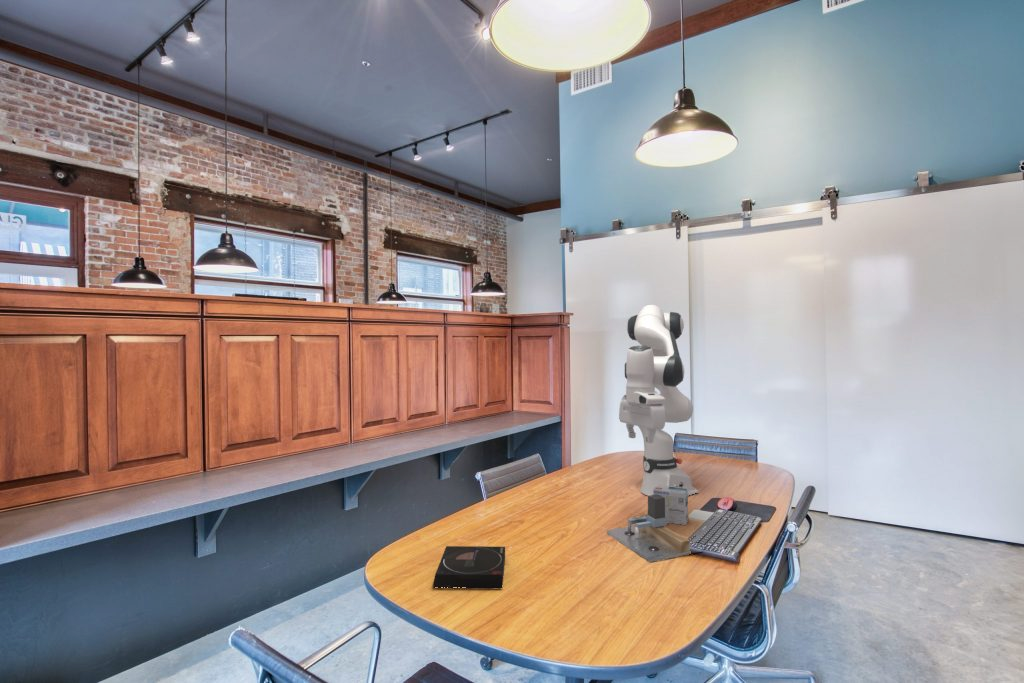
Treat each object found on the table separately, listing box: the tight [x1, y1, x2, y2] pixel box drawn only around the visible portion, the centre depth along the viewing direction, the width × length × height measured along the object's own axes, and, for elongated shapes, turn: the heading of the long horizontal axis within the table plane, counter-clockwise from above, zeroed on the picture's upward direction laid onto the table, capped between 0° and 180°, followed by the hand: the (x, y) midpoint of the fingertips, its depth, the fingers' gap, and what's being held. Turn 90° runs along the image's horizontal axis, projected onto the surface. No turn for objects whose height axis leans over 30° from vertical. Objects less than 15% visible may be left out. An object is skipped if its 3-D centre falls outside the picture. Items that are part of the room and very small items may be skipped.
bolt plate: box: [606, 525, 692, 563], centre depth 148 cm, size 18×22×1 cm
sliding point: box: [635, 494, 668, 538], centre depth 150 cm, size 10×4×12 cm, turn 111°
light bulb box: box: [653, 485, 689, 526], centre depth 166 cm, size 11×7×11 cm, turn 65°
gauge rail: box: [627, 514, 691, 553], centre depth 148 cm, size 9×22×4 cm, turn 21°
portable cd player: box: [432, 545, 506, 589], centre depth 129 cm, size 16×17×4 cm
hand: (640, 440), depth 156 cm, fingers open, 8 cm apart
